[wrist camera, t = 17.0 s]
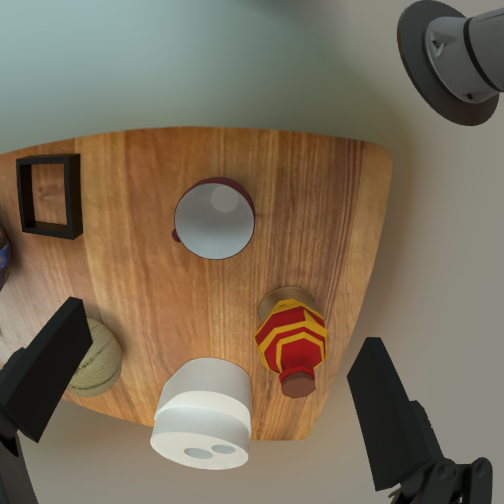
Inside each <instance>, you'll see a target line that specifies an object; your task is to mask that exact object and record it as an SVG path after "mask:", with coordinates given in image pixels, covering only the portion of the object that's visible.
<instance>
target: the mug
mask: <svg viewBox="0 0 504 504" xmlns="http://www.w3.org/2000/svg"><path fill="white" fill-rule="evenodd" d="M174 225H175V229H174V230H173V231H172V237H173V239H174V240H175V241H177V242H182V244H183V245H184V246H185V247H186V248H187V249H188V250H189V251H191V252H192V253H194V254H195V255H197V256H200V257H202V258H205V259H211V260H221V259H226V258H230V257H232V256H234V255H236V254H238V253H239V252H241V251H242V250H243V249H244V248H245V247H246V246H247V244H248V243H249V241H250V240H251V238H252V235H253V232H254V228H255V208H254V204H253V201H252V199H251V197H250V195H249V194H248V192H247V191H246V190H245V189H244V188H243V186H241V185H240V184H239V183H238V182H236V181H234V180H232V179H229V178H223V177H214V178H208V179H205V180H202V181H200V182H198V183H196V184H195V185H193V186H192V187H191V188H190V189H189V190H188V191H187V192H186V193H185V194H184V195H183V196H182V197H181V199H180V200H179V202H178V204H177V206H176V209H175V214H174Z"/></svg>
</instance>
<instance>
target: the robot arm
mask: <svg viewBox="0 0 504 504" xmlns="http://www.w3.org/2000/svg"><path fill="white" fill-rule="evenodd" d="M422 46H423V52H424V56H425V59H426V61H427V64H428V66H429V68H430V70H431V72H432V74H433V76H434V77H435V79H436V80H437V82H438V83H439V84H440V85H441V87H442V88H443V89H444V90H445V91H446V92H447V93H448V94H449V95H451V96H452V97H453V98H455V99H457V100H458V101H461V102H464V103H481V102H484V101H486V100H487V99H489V98H491V97H493V96H495V95H496V94H498V93H500V92H504V8H501V9H497V10H493V11H490V12H487V13H484V14H481V15H478V16H475V17H472V18H469V19H468V18H458V17H439V18H436V19H434V20H432V21H430V22H429V23H428V24H427V25H426V26H425V28H424V30H423V34H422ZM92 344H93V339H92V336H91V332H90V329H89V325H88V321H87V317H86V313H85V309H84V305H83V301H82V299H78V298H74V297H69V298H68V299H67V300H66V301H65V303H64V304H63V305H62V306H61V307H60V308H59V309H58V310H57V312H56V313H55V314H54V315H53V316H52V317H51V319H50V320H49V321H48V322H47V323H46V325H45V326H44V327H43V328H42V329H41V331H40V332H39V333H38V334H37V336H36V337H35V338H34V339H33V341H32V342H31V343H30V344H29V346H28V347H27V348H26V349H25V348H23V347H22V348H20V349H19V350H17V351H16V352H14V353H13V354H12V356H11V357H10V358H9V360H8V361H7V363H6V364H5V365H4V366H3V369H1V370H0V504H38V501H37V498H36V496H35V493H34V490H33V487H32V484H31V481H30V478H29V475H28V471H27V468H26V465H25V461H24V457H23V453H22V449H21V445H20V440H19V436H18V434H17V430H18V429H19V430H20V431H21V432H22V433H23V434H24V435H25V436H26V437H28V438H29V439H31V440H33V441H35V442H36V443H38V442H39V440H40V438H41V436H42V434H43V431H44V430H45V427H46V426H47V423H48V422H49V420H50V418H51V416H52V414H53V412H54V410H55V408H56V406H57V404H58V402H59V401H60V399H61V397H62V395H63V393H64V391H65V390H66V388H67V386H68V384H69V383H70V381H71V379H72V377H73V376H74V374H75V372H76V370H77V369H78V367H79V365H80V364H81V362H82V360H83V359H84V357H85V355H86V354H87V352H88V350H89V349H90V347H91V346H92ZM347 380H348V383H349V386H350V390H351V393H352V397H353V400H354V404H355V408H356V411H357V415H358V419H359V423H360V427H361V430H362V434H363V438H364V442H365V446H366V450H367V455H368V459H369V463H370V467H371V472H372V476H373V481H374V485H375V490H376V491H380V490H384V489H388V488H392V487H394V486H395V485H397V484H398V483H400V485H401V487H400V488H399V489H397V490H395V491H394V492H392V493H391V494H390V495H389V496H388V497H389V498H390V497H392V496H394V495H395V497H394V498H393V500H392V502H391V504H491V499H492V477H493V476H492V475H493V474H492V472H493V470H492V465H491V463H490V461H489V460H488V459H487V458H484V457H481V458H478V459H477V460H475V461H474V462H473V463H471V464H455V462H454V461H452V460H451V459H447V458H445V457H444V456H443V454H442V451H441V449H440V446H439V443H438V441H437V438H436V436H435V433H434V431H433V428H431V424H430V421H429V420H428V417H427V414H426V412H425V409H424V408H423V407H422V406H421V405H420V403H419V402H418V401H417V400H415V401H409V399H408V397H407V394H406V392H405V389H404V387H403V385H402V383H401V380H400V378H399V376H398V374H397V372H396V369H395V367H394V365H393V363H392V361H391V359H390V356H389V354H388V352H387V350H386V348H385V346H384V344H383V342H382V340H381V338H379V337H367V338H366V339H365V342H364V343H363V346H362V348H361V350H360V352H359V354H358V356H357V358H356V360H355V362H354V364H353V365H352V367H351V369H350V371H349V373H348V375H347ZM461 497H462V503H460V498H461Z"/></svg>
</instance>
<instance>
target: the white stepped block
mask: <svg viewBox="0 0 504 504" xmlns="http://www.w3.org/2000/svg"><path fill="white" fill-rule="evenodd" d="M154 420H155V426H154V429H153V433H152V437H151V440H150V443H151V445H152V447H153V448H154V450H156V451H157V452H158V453H159V454H161V455H162V456H164V457H166V458H168V459H170V460H172V461H174V462H177V463H180V464H183V465H186V466H190V467H195V468H201V469H213V470H215V469H216V470H217V469H218V470H219V469H230V468H234V467H238V466H241V465H243V464H244V463H245V462H246V461H247V460H248V452H249V451H248V450H249V439H250V437H251V431H252V395H251V382H250V378H249V376H248V375H247V373H246V372H245V371H244V370H243V369H242V368H240V367H239V366H237V365H235V364H233V363H231V362H228V361H225V360H222V359H216V358H198V359H194V360H191V361H189V362H187V363H185V364H184V365H183V366H182V367H181V368H180V369H179V370H178V371H177V372H176V373H175V374H174V375H173V376H172V377H171V378H170V379H169V380H168V381H167V382H166V383H165V385H164V386H163V390H162V393H161V396H160V400H159V403H158V406H157V410H156V413H155V417H154Z"/></svg>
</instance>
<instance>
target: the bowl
mask: <svg viewBox="0 0 504 504" xmlns="http://www.w3.org/2000/svg"><path fill="white" fill-rule="evenodd" d="M10 269H11V247H10V244H9V241H8V239H7V237H6V234H5V232H4V230H3V228H2V227H1V225H0V291H1V290H2V288H3V286H4V284H5V283H6V281H7V279H8V276H9V273H10Z"/></svg>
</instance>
